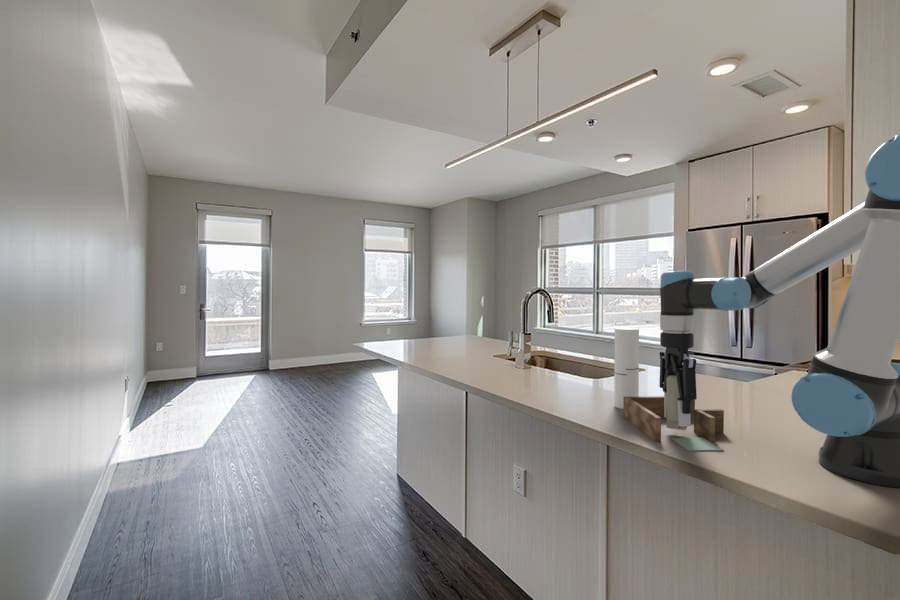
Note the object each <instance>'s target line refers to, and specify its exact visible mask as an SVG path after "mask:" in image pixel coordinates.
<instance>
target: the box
mask: <svg viewBox="0 0 900 600" xmlns="http://www.w3.org/2000/svg"><path fill="white" fill-rule="evenodd" d="M677 398H680V395H679V389H678V383H677V376H673V375H671V376H668V377H667V418H666V428H668V429H672V430H680V431H685V430H686V429H687V427H688V426H678V400H677Z"/></svg>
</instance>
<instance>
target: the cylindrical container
mask: <svg viewBox="0 0 900 600" xmlns="http://www.w3.org/2000/svg"><path fill="white" fill-rule="evenodd" d="M639 364H640V328H639V327H638V328H636V327H614V369H613V371H614V378H613V379H614V391H613V392H614V399H613V400H614V402H613V403H614V407H615V408H618V409H621V410H624V397H640V395H639V394H640V393H639V391H640V389H639V386H640V385H639V382H640V381H639V380H640V379H639V378H640V377H639V376H640V373H639V372H640V365H639Z"/></svg>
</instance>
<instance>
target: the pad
mask: <svg viewBox="0 0 900 600" xmlns="http://www.w3.org/2000/svg"><path fill="white" fill-rule="evenodd" d="M670 439H671V440H672V441H673V442H675V443H676V444H677V445H679V446H681V447H682V448H683V449H685V450H686V451H688V452H724V449H723V448H721V447H720V446H718V445H716V444H715V443H714V442H710V441H708V440H706V439H705V438H703V437H670Z"/></svg>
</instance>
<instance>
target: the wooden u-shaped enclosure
mask: <svg viewBox="0 0 900 600" xmlns="http://www.w3.org/2000/svg"><path fill="white" fill-rule="evenodd" d="M724 416H725V411H724V409H721V408H708V409H707V408H700V409H699V408H697V409H696V400H691V402H690V419H693V432H694V433H695V434H697V435H698V436H700V438H705V439H706V440H708V441H710V442H711V443H714V442H716V434H725V433H724V432H725V431H724V430H725V429H724V428H725V427H724V426H725V425H724V424H725V422H724V420H725V419H724V418H725V417H724ZM623 418H624V419H625V420H627V421H629V423H631V424H632V425H634V426H635V428H637V429H638V430H640V431H642V433H644V434H645V435H647V436H648V437H649V438H650V439H652V440H653V441H654V442H656V443H661V442H662V419H666V418H665V417H664V395H662V396H639V397H624V409H623Z"/></svg>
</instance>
